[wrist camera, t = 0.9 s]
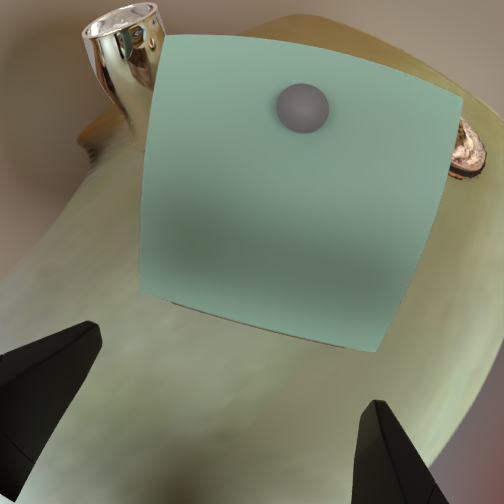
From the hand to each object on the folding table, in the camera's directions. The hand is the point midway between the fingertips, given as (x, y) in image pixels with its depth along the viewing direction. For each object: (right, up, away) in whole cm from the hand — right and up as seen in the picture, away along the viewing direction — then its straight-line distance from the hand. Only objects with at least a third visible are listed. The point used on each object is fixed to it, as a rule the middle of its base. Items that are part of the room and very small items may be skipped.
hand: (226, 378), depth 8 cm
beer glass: (-10, +17, +22) cm, 29 cm away
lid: (+2, +6, +6) cm, 9 cm away
